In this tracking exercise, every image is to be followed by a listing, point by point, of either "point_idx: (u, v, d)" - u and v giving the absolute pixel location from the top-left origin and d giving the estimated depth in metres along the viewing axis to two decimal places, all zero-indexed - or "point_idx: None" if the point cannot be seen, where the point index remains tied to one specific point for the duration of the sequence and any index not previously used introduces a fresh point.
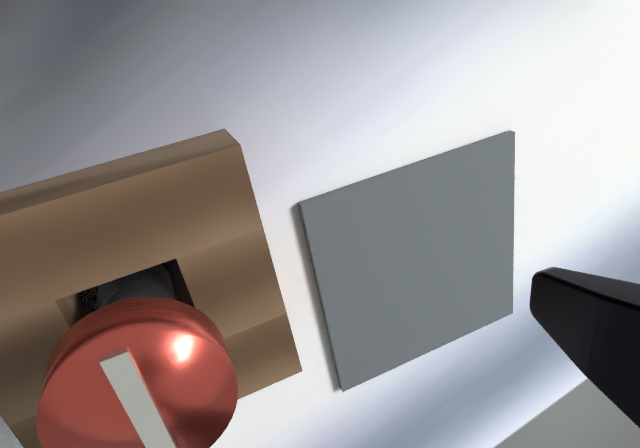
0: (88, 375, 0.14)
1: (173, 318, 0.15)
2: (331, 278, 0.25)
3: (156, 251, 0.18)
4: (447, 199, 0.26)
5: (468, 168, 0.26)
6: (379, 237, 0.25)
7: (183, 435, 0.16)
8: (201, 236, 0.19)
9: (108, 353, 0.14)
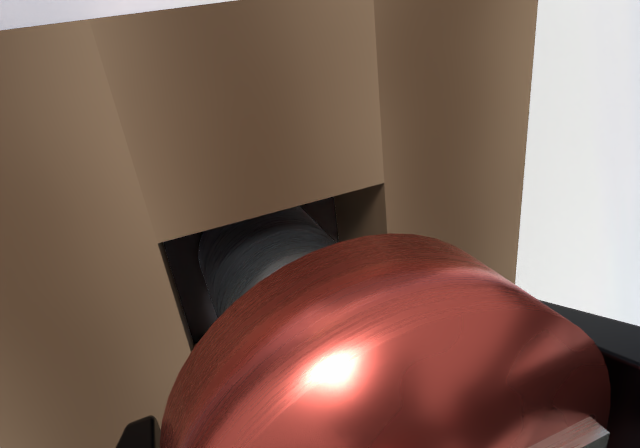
0: None
1: (191, 447, 0.05)
2: None
3: (133, 280, 0.08)
4: None
5: None
6: None
7: (537, 425, 0.06)
8: (103, 188, 0.08)
9: None
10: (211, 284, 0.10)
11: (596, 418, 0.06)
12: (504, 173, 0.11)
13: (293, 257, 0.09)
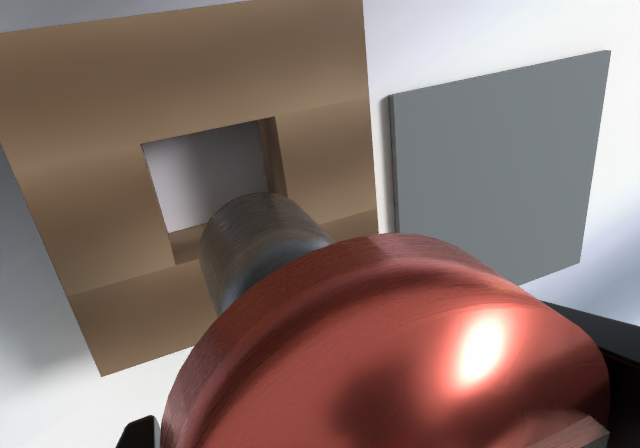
0: None
1: (191, 446, 0.05)
2: (411, 190, 0.23)
3: (256, 102, 0.16)
4: (536, 117, 0.24)
5: (561, 84, 0.24)
6: (465, 150, 0.23)
7: (536, 425, 0.06)
8: (305, 93, 0.16)
9: None
10: (211, 284, 0.10)
11: (596, 418, 0.06)
12: None
13: (293, 257, 0.09)
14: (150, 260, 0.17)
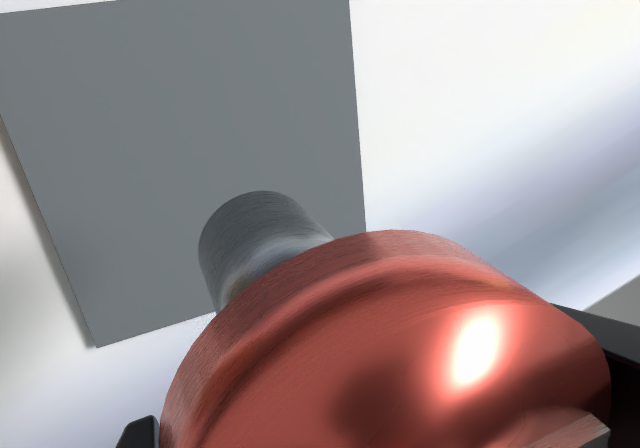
0: None
1: (189, 443, 0.05)
2: (45, 160, 0.17)
3: None
4: (242, 64, 0.18)
5: (273, 18, 0.18)
6: (126, 105, 0.17)
7: (537, 423, 0.06)
8: None
9: None
10: (210, 282, 0.10)
11: (597, 415, 0.06)
12: None
13: (293, 255, 0.09)
14: None
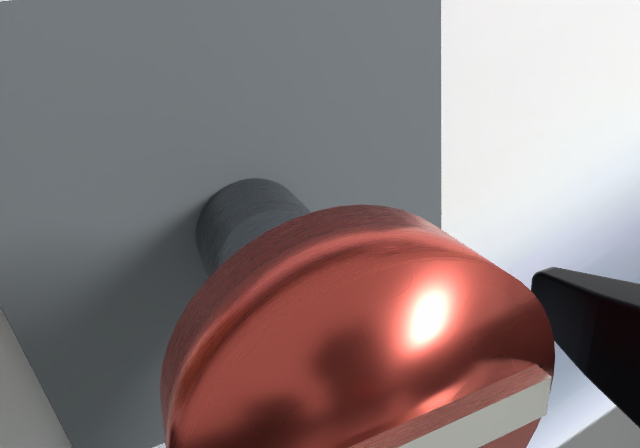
0: None
1: (186, 378, 0.06)
2: (2, 230, 0.11)
3: None
4: (291, 82, 0.12)
5: (336, 17, 0.12)
6: (123, 146, 0.11)
7: (487, 369, 0.07)
8: None
9: None
10: (207, 260, 0.11)
11: (542, 367, 0.07)
12: None
13: None
14: None
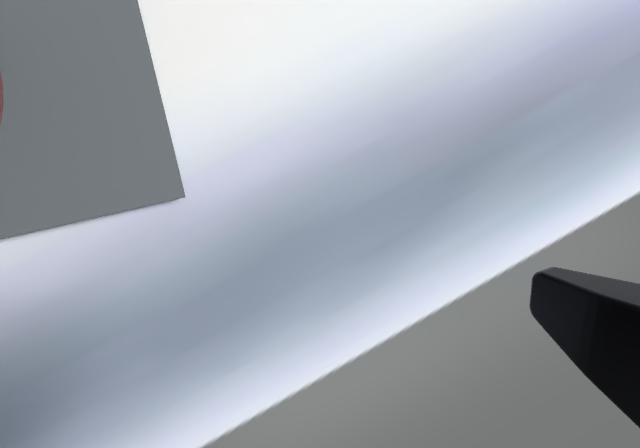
0: None
1: None
2: None
3: None
4: None
5: None
6: None
7: None
8: None
9: None
10: None
11: None
12: None
13: None
14: None
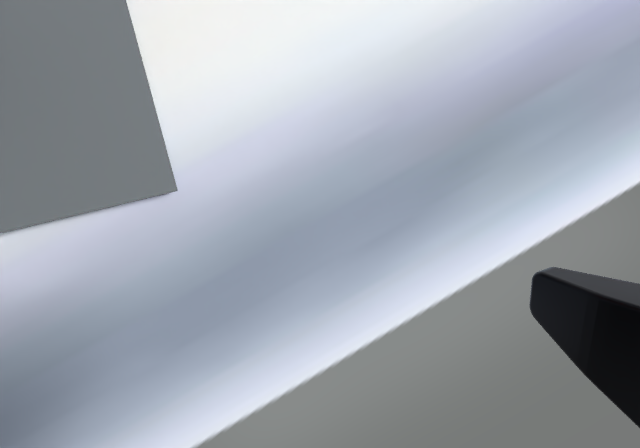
0: None
1: None
2: None
3: None
4: None
5: None
6: None
7: None
8: None
9: None
10: None
11: None
12: None
13: None
14: None
